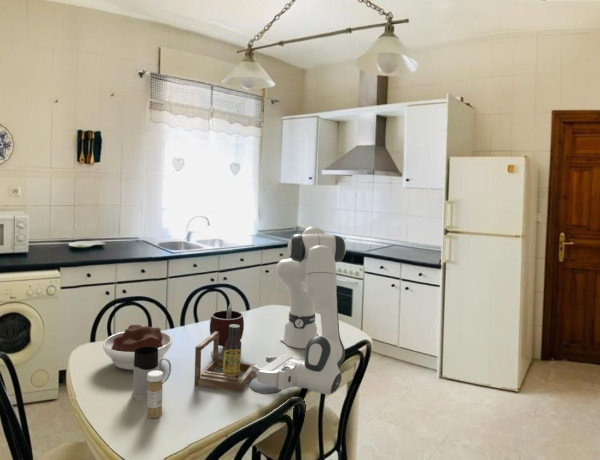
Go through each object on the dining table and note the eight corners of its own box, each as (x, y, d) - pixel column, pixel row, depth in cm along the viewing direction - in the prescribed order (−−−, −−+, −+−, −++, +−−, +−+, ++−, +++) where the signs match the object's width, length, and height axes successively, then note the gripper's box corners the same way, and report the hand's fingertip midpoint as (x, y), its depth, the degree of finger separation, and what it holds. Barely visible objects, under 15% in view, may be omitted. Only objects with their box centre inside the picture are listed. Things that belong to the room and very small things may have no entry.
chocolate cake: (115, 384, 159) (115, 342, 157) (94, 360, 178) (94, 322, 176) (182, 368, 175) (183, 330, 173) (156, 347, 194) (157, 313, 192)
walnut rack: (214, 365, 178) (215, 331, 177) (255, 371, 175) (257, 336, 174) (194, 385, 161) (195, 347, 159) (240, 392, 158) (241, 353, 156)
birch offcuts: (206, 379, 166) (206, 370, 166) (239, 384, 164) (239, 375, 163) (202, 383, 163) (202, 374, 162) (235, 388, 160) (235, 379, 160)
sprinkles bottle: (157, 409, 143) (158, 368, 142) (165, 415, 140) (166, 373, 139) (143, 414, 140) (144, 372, 138) (151, 420, 137) (152, 377, 135)
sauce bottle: (223, 382, 165) (225, 328, 163) (221, 374, 171) (223, 323, 169) (241, 380, 167) (243, 328, 164) (238, 373, 173) (241, 322, 170)
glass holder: (144, 385, 159) (144, 344, 157) (178, 394, 154) (179, 351, 152) (125, 396, 151) (126, 352, 149) (161, 406, 146) (162, 360, 144)
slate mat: (255, 376, 171) (255, 374, 171) (286, 380, 169) (286, 379, 169) (244, 390, 159) (244, 388, 159) (278, 395, 157) (278, 393, 157)
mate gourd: (239, 362, 183) (241, 313, 181) (205, 360, 184) (207, 311, 181) (245, 348, 199) (247, 303, 197) (213, 346, 199) (215, 301, 197)
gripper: (308, 353, 165) (275, 345, 171) (280, 373, 147) (244, 363, 153) (307, 370, 166) (274, 361, 172) (279, 392, 148) (243, 381, 154)
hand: (260, 362), depth 162 cm, fingers open, 8 cm apart
